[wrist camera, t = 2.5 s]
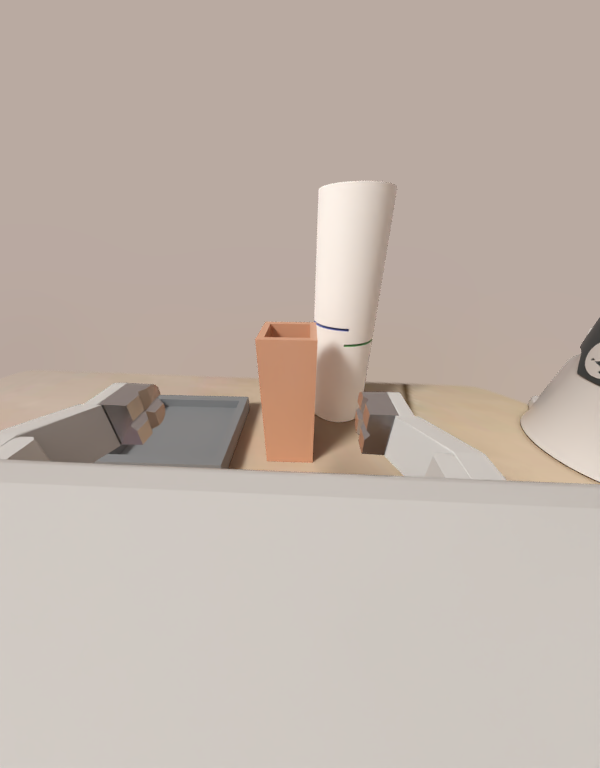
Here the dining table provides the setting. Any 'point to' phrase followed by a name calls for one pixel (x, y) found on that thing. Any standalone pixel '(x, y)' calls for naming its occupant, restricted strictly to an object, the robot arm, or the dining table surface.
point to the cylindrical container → (348, 288)
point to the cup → (288, 388)
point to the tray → (189, 434)
